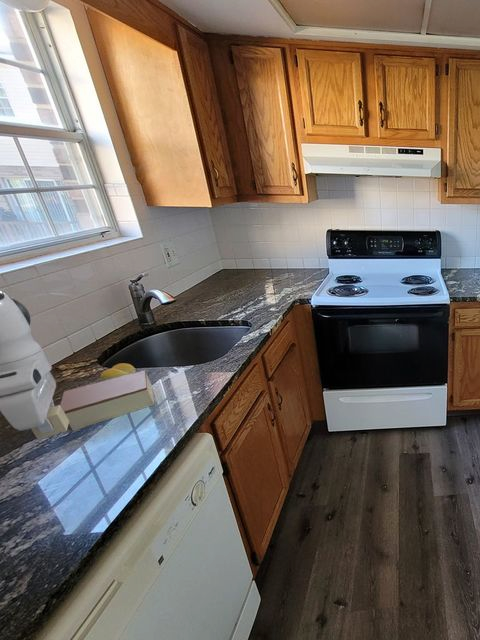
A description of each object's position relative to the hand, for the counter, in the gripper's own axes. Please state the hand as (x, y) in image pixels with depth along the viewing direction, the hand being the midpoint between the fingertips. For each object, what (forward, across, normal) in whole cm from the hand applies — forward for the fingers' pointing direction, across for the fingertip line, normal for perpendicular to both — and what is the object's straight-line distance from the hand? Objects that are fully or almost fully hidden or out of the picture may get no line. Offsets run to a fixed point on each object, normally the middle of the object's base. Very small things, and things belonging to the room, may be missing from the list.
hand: (50, 424), depth 79 cm
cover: (+7, -26, +6) cm, 28 cm away
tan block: (+2, 0, 0) cm, 2 cm away
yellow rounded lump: (+13, -48, +7) cm, 50 cm away
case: (+12, -26, +7) cm, 30 cm away
